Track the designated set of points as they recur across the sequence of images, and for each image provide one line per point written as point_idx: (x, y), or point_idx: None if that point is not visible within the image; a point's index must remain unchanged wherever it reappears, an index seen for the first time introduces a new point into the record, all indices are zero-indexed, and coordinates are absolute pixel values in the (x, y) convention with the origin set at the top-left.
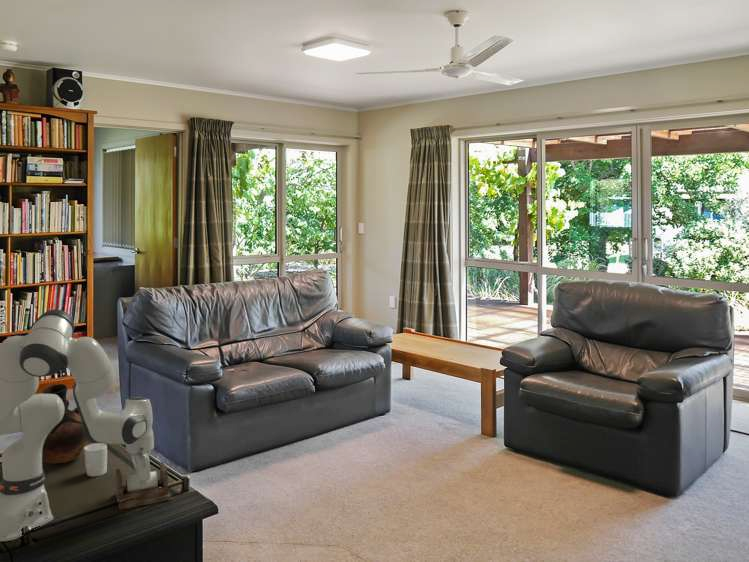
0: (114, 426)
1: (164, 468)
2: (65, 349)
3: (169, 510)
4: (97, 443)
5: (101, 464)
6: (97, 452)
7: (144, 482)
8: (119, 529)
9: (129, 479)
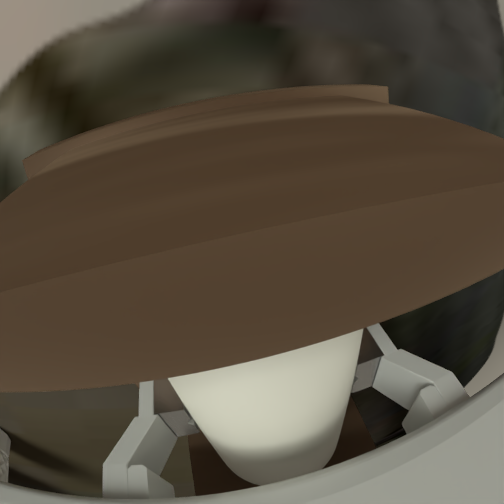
0: None
1: (490, 230)
2: None
3: (478, 119)
4: None
5: None
6: None
7: (405, 362)
8: (485, 301)
9: (328, 457)
